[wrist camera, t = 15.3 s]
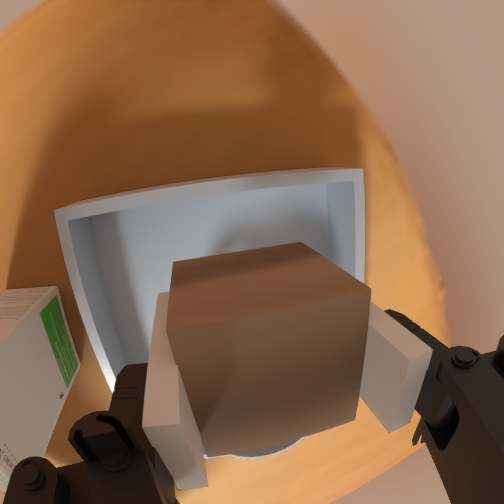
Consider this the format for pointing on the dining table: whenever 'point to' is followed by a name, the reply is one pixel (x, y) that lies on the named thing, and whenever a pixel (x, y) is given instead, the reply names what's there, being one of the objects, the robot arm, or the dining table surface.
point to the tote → (196, 242)
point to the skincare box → (32, 372)
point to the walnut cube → (267, 344)
